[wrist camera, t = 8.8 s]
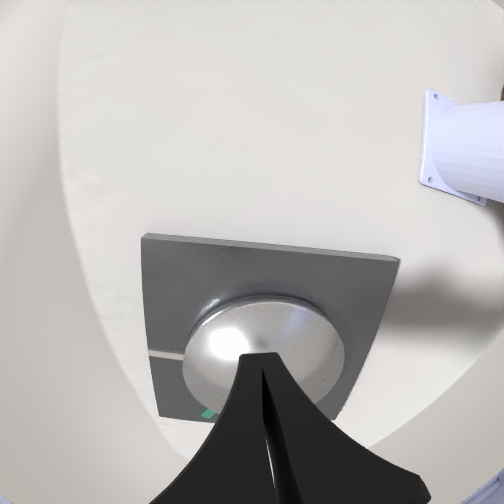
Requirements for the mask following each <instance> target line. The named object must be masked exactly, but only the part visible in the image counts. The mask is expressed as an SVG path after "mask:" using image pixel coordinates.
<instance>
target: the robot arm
mask: <svg viewBox="0 0 504 504" xmlns="http://www.w3.org/2000/svg"><path fill="white" fill-rule="evenodd" d="M434 95H435V97H436V99H435V97H434ZM429 178H430V181H429V182H428V179H429ZM419 181H420V183H421V184H423V185H426V186H429V187H432V188H435V189H438V190H441V191H444V192H447V193H450V194H453V195H456V196H459V197H461V198H464V199H467V200H469V201H472V202H475V203H477V204H480V205H483V206H485V205H486V203H487V198H488V199H492V200H495V201H499V202H502V203H504V101H492V102H480V103H470V104H461V105H459V104H457V103H456V102H454V101H452V100H451V99H449V98H447V97H445V96H444V95H442V94H440V93H438V92H436V91H434V90H433V89H427V90H426V91H425V116H424V134H423V146H422V156H421V164H420V172H419ZM266 440H267V443H266ZM267 445H268V449H269V454H270V458H271V463H272V468H273V476H274V482H273V477H272V471H271V466H270V460H269V455H268V449H267ZM274 485H275V487H274ZM430 499H431V496H430V493H429V491H428V489H427V487H426V485H425V483H424V482H423V481H422V479H421V478H420V476H419V475H417V474H415V473H412V472H410V471H407V470H405V469H403V468H400V467H398V466H396V465H394V464H392V463H390V462H388V461H386V460H384V459H382V458H381V457H379V456H377V455H375V454H374V453H372V452H371V451H369V450H368V449H366V448H365V447H363V446H362V445H360V444H359V443H357V442H356V441H354V440H353V439H352V438H350V437H349V436H348V435H347V434H345V433H344V432H343V431H342V430H340V429H339V428H338V427H337V426H336V425H335V424H334V423H333V422H331V421H330V420H329V419H328V418H327V417H326V416H325V415H324V414H323V413H322V412H321V411H320V410H319V409H318V408H317V406H316V405H315V404H314V403H313V402H312V401H311V400H310V399H309V397H308V396H307V395H306V394H305V392H304V391H303V390H302V389H301V387H300V386H299V385H298V383H297V382H296V381H295V379H294V378H293V377H292V375H291V374H290V372H289V371H288V369H287V367H286V366H285V364H284V363H283V361H282V359H281V357H280V355H279V354H278V353H277V352H267V353H247V354H241V355H240V356H239V362H238V368H237V372H236V375H235V379H234V382H233V385H232V388H231V390H230V393H229V396H228V398H227V400H226V403H225V405H224V407H223V409H222V411H221V413H220V415H219V417H218V419H217V421H216V423H215V425H214V427H213V428H212V430H211V432H210V433H209V435H208V437H207V438H206V440H205V441H204V443H203V444H202V446H201V447H200V449H199V450H198V451H197V453H196V454H195V456H194V457H193V458H192V460H191V461H190V462H189V463H188V465H187V466H186V467H185V468H184V469H183V470H182V471H181V473H180V474H179V475H178V476H177V477H176V478H175V479H174V481H173V482H172V483H171V484H170V485H169V486H168V487H167V488H166V489H165V490H163V491H162V492H161V493H160V494H159V495H158V496H157V497H156V498H155V499H154V500H152V501H151V502H150V503H149V504H427V503H428V502H429V501H430ZM0 504H14V503H12V502H11V501H9V500H8V499H6V498H5V497H4V496H2V495H1V494H0ZM459 504H504V468H503V469H502V470H501V471H500V472H499V473H498V474H497V475H496V476H494V477H493V478H492V479H491V480H489V481H488V482H487V483H486V484H484V485H483V486H482V487H481V488H479V489H478V490H477V491H476V492H475V493H473V494H472V495H471V496H469V497H468V498H466V499H465V500H464V501H462V502H461V503H459Z"/></svg>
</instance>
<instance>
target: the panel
mask: <svg viewBox="0 0 504 504" xmlns="http://www.w3.org/2000/svg"><path fill="white" fill-rule="evenodd" d="M398 263H399V261H397V260H396V259H394V258H393V257H391V256H384V255H375V254H365V253H356V252H346V251H336V250H326V249H316V248H306V247H295V246H285V245H274V244H264V243H253V242H242V241H231V240H220V239H209V238H197V237H186V236H174V235H162V234H150V233H146V234H145V235H144V236H143V237H142V238H141V269H142V289H143V304H144V316H145V327H146V336H147V345H148V353H149V360H150V367H151V374H152V380H153V386H154V391H155V397H156V402H157V407H158V412H159V416H160V417H167V418H173V419H181V420H189V421H199V422H210V423H216V421H217V419H218V417H219V415H220V414H218V413H216V412H214V411H212V410H210V409H208V408H207V407H205V406H204V405H202V404H201V403H200V402H199V401H198V400H197V399H196V398H195V397H194V396H193V395H192V394H191V392H190V391H189V389H188V387H187V385H186V383H185V380H184V376H183V367H182V366H183V359H184V354H185V349H186V345H187V342H188V339H189V337H190V335H191V333H192V331H193V330H194V328H195V327H196V326H197V324H198V323H199V322H200V321H201V320H202V319H203V318H204V317H205V316H206V315H208V314H209V313H211V312H212V311H213V310H215V309H217V308H218V307H220V306H222V305H224V304H226V303H229V302H231V301H234V300H237V299H241V298H244V297H249V296H255V295H269V294H270V295H283V296H289V297H294V298H297V299H300V300H303V301H305V302H307V303H310V304H312V305H313V306H315V307H316V308H318V309H319V310H321V311H322V312H323V313H324V314H325V315H326V316H327V317H328V318H329V320H330V321H331V322H332V324H333V326H334V328H335V329H336V331H337V333H338V335H339V337H340V338H341V340H342V343H343V347H344V354H345V357H344V365H343V369H342V372H341V374H340V377H339V379H338V380H337V382H336V384H335V385H334V386H333V388H332V389H331V390H330V391H329V392H328V393H327V394H326V395H325V396H324V397H323V398H322V399H321V400H319V401H318V402H317V403H315V405H316V406H317V408H318V409H319V410H320V411H321V412H322V413H323V414H324V415H325V416H326V417H327V418H328V419H329V420H335V419H336V417H337V416H338V414H339V412H340V410H341V408H342V406H343V404H344V402H345V400H346V398H347V396H348V394H349V392H350V390H351V388H352V386H353V384H354V382H355V380H356V378H357V376H358V374H359V371H360V369H361V367H362V365H363V362H364V360H365V358H366V355H367V353H368V351H369V348H370V346H371V343H372V341H373V338H374V336H375V333H376V330H377V328H378V325H379V322H380V320H381V317H382V314H383V311H384V308H385V305H386V303H387V299H388V296H389V293H390V290H391V287H392V284H393V280H394V277H395V274H396V270H397V267H398Z"/></svg>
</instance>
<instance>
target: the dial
mask: <svg viewBox="0 0 504 504" xmlns="http://www.w3.org/2000/svg"><path fill="white" fill-rule="evenodd" d="M267 352H277V353H278V354H279V355H280V357H281V359H282V361H283V363H284V364H285V366H286V367H287V369H288V371H289V372H290V374H291V375H292V377H293V378H294V379H295V381H296V382H297V383H298V385H299V386H300V387H301V389H302V390H303V391H304V392H305V394H306V395H307V396H308V397H309V399H310V400H311V401H312V402H313V403H314V404H315V403H317V402H318V401H319V400H321V399H322V398H323V397H324V396H325V395H326V394H327V393H328V392H329V391H330V390H331V389H332V388H333V386H334V385H335V384H336V382H337V380H338V379H339V377H340V374H341V372H342V369H343V365H344V357H345V354H344V347H343V343H342V340H341V338H340V337H339V335H338V333H337V331H336V329H335V328H334V326H333V324H332V322H331V321H330V320H329V318H328V317H327V316H326V315H325V314H324V313H323V312H322V311H321V310H319V309H318V308H316V307H315V306H313V305H312V304H310V303H307V302H305V301H303V300H300V299H297V298H294V297H289V296H283V295H270V294H269V295H255V296H249V297H244V298H241V299H237V300H234V301H231V302H229V303H226V304H224V305H222V306H220V307H218V308H217V309H215V310H213V311H212V312H211V313H209V314H208V315H206V316H205V317H204V318H203V319H202V320H201V321H200V322H199V323H198V324H197V326H196V327H195V328H194V330H193V331H192V333H191V335H190V337H189V339H188V342H187V345H186V349H185V354H184V359H183V366H182V367H183V376H184V380H185V383H186V385H187V387H188V389H189V391H190V392H191V394H192V395H193V396H194V397H195V398H196V399H197V400H198V401H199V402H200V403H201V404H202V405H204V406H205V407H207V408H208V409H210V410H212V411H214V412H216V413H218V414H220V413H221V411H222V409H223V407H224V405H225V403H226V400H227V398H228V396H229V393H230V390H231V388H232V385H233V382H234V379H235V375H236V372H237V368H238V362H239V356H240V355H241V354H247V353H267Z"/></svg>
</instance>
